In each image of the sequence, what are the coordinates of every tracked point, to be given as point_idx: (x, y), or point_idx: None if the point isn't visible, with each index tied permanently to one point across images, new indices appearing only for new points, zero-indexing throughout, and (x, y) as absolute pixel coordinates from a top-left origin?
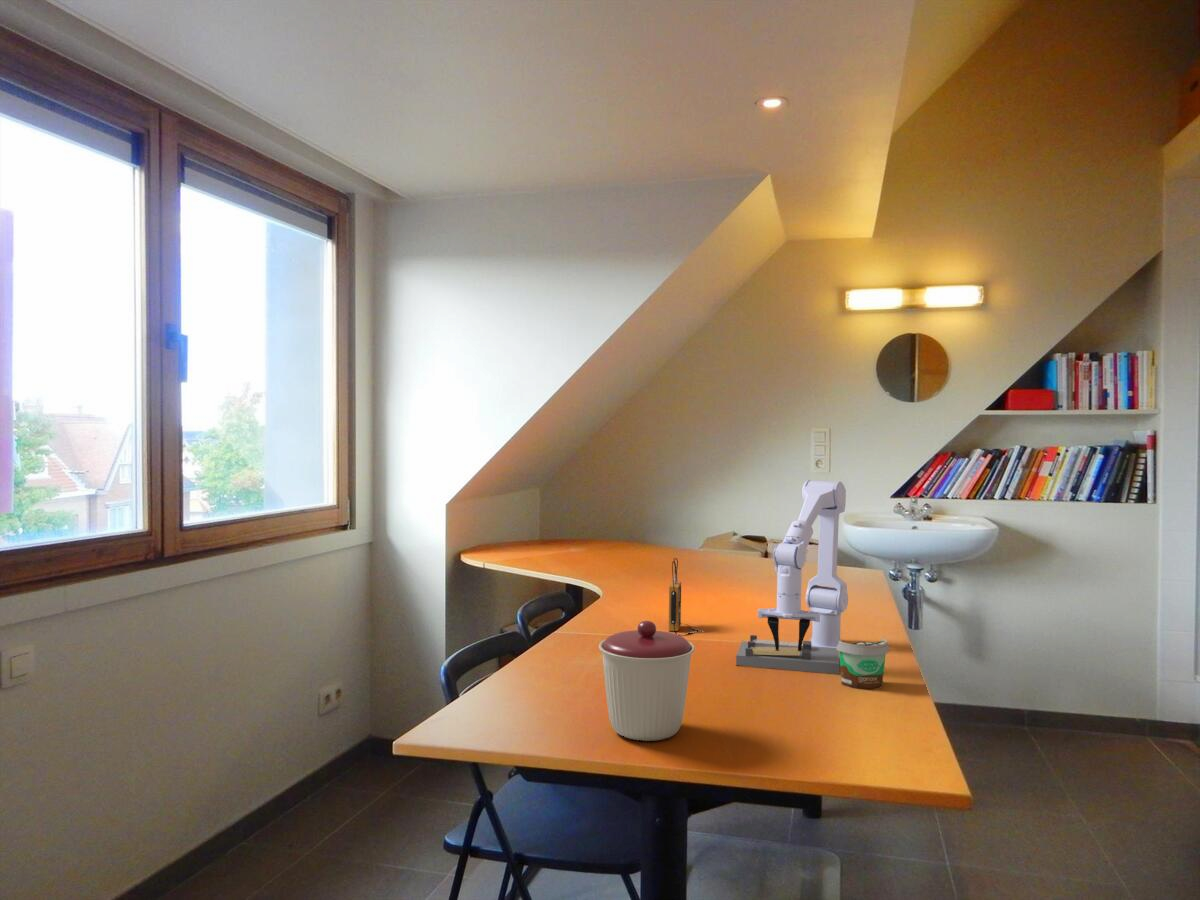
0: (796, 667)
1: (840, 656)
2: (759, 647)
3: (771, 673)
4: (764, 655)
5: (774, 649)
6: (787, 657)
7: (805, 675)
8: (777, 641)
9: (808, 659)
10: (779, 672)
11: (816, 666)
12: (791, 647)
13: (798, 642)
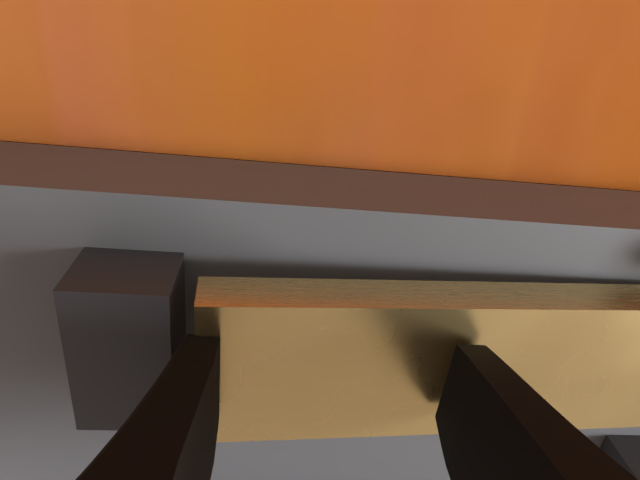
0: (248, 171)
1: None
2: (615, 415)
3: (510, 15)
4: None
5: None
6: None
7: (153, 10)
8: (516, 407)
9: (107, 251)
10: (420, 71)
11: (25, 164)
12: (295, 437)
13: (198, 404)
